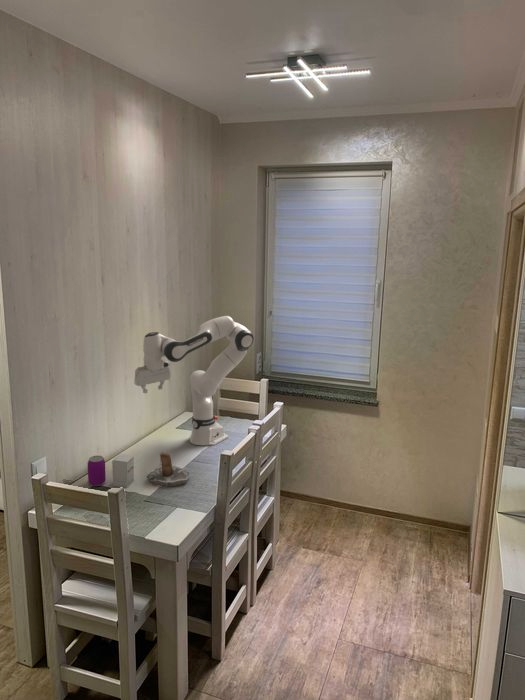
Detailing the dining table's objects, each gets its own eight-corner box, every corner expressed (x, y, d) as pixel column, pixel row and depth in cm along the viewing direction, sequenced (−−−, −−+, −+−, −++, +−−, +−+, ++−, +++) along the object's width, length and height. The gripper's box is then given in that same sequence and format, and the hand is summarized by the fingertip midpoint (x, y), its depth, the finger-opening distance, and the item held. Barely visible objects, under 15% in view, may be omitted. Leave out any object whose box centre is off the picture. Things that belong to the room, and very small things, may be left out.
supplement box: (127, 488, 229) (126, 462, 227) (112, 486, 231) (111, 460, 228) (134, 480, 236) (134, 455, 234) (119, 478, 238) (119, 453, 235)
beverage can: (109, 481, 235) (108, 456, 233) (97, 488, 228) (96, 463, 226) (96, 477, 238) (95, 453, 236) (84, 484, 231) (83, 459, 229)
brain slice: (188, 470, 249) (188, 465, 249) (190, 487, 233) (190, 481, 232) (147, 472, 246) (147, 467, 245) (146, 489, 229) (145, 483, 229)
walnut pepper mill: (166, 471, 241) (163, 451, 239) (175, 472, 239) (172, 452, 237) (160, 475, 237) (157, 455, 235) (169, 476, 235) (166, 456, 233)
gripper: (139, 369, 247) (139, 396, 250) (172, 362, 262) (172, 388, 265) (131, 366, 251) (131, 393, 254) (164, 360, 266) (164, 386, 269)
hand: (152, 391), depth 259 cm, fingers open, 8 cm apart
